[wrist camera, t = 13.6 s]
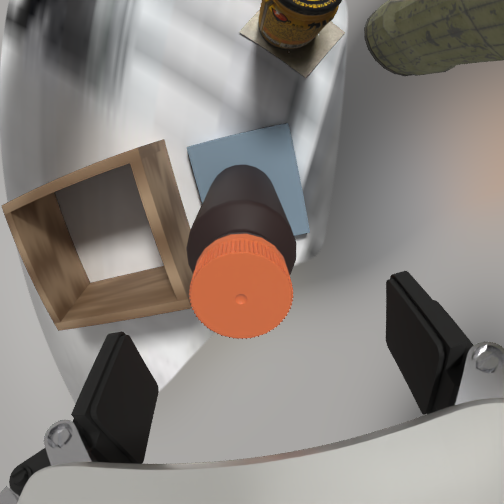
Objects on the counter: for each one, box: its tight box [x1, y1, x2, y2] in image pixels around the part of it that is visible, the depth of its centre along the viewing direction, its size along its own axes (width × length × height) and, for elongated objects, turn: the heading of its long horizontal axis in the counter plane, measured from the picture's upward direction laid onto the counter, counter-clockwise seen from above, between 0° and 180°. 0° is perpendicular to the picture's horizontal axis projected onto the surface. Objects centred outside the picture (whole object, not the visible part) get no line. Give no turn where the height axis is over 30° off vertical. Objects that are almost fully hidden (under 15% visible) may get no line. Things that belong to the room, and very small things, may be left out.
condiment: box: [240, 0, 345, 78], centre depth 22 cm, size 7×8×12 cm
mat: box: [187, 123, 310, 236], centre depth 34 cm, size 12×10×1 cm
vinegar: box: [186, 165, 296, 339], centre depth 24 cm, size 7×7×20 cm
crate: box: [2, 140, 193, 331], centre depth 31 cm, size 15×16×9 cm
